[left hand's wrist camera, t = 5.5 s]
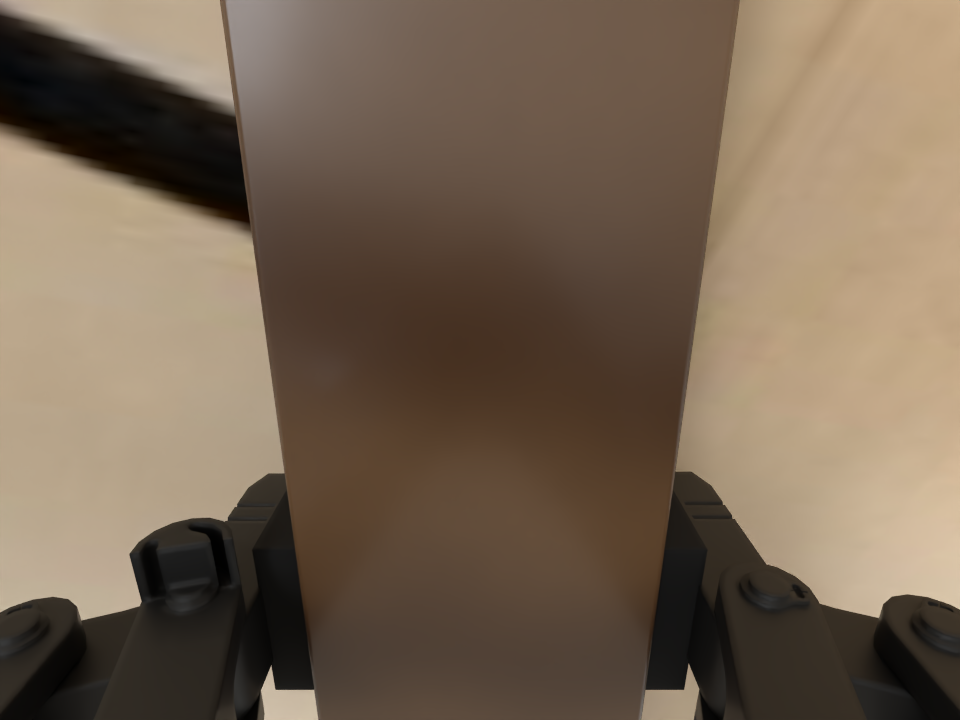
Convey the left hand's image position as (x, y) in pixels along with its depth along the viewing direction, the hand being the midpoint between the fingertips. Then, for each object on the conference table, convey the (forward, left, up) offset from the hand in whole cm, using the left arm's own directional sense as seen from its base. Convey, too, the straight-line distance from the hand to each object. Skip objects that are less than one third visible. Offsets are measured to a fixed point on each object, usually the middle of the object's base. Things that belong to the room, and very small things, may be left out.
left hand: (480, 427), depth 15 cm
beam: (+16, +28, -1) cm, 33 cm away
